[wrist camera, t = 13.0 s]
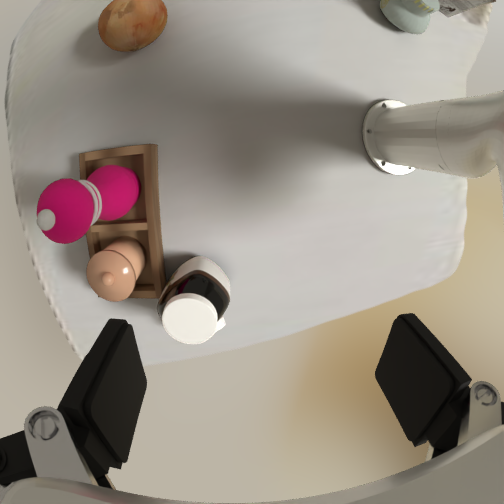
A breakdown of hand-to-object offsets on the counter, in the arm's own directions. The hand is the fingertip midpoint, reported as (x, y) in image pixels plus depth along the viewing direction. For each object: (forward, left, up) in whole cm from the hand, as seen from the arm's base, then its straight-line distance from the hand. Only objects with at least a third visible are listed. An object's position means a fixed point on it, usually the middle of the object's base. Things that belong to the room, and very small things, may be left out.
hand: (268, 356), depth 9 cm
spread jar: (+6, +15, -32) cm, 36 cm away
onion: (+15, -27, -32) cm, 45 cm away
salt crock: (+17, +8, -31) cm, 36 cm away
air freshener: (-28, -37, -32) cm, 57 cm away
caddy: (+17, +3, -32) cm, 36 cm away
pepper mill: (+16, -3, -31) cm, 35 cm away
